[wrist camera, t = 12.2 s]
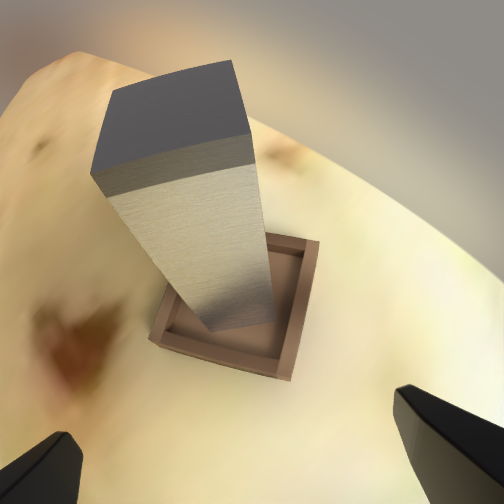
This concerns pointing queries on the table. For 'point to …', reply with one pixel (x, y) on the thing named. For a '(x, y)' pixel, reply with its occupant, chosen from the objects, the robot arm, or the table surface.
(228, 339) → the tray
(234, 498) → the table surface
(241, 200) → the brushed steel post
